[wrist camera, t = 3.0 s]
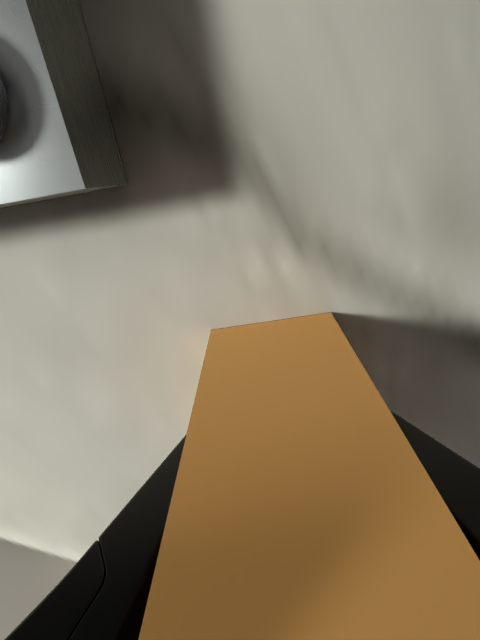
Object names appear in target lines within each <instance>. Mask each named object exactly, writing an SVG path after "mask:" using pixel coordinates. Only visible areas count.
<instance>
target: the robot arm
mask: <svg viewBox="0 0 480 640" xmlns="http://www.w3.org/2000/svg"><path fill="white" fill-rule="evenodd" d="M390 412H391V413H392V415H393V417H394V418H395V420H396V422H397V423H398V425H399V427H400V428H401V430H402V432H403V433H404V435H405V437H406V438H407V440H408V442H409V444H410V445H411V447H412V449H413V450H414V452H415V454H416V455H417V457H418V459H419V460H420V462H421V464H422V465H423V467H424V469H425V470H426V472H427V474H428V475H429V477H430V479H431V480H432V482H433V484H434V485H435V487H436V489H437V490H438V492H439V494H440V495H441V497H442V499H443V500H444V502H445V504H446V505H447V507H448V509H449V510H450V512H451V514H452V515H453V517H454V519H455V520H456V522H457V524H458V525H459V527H460V529H461V530H462V532H463V534H464V535H465V537H466V539H467V540H468V542H469V544H470V545H471V547H472V549H473V550H474V552H475V554H476V555H477V557H478V559H479V560H480V469H479V468H478V467H476V466H475V465H473V464H472V463H470V462H469V461H467V460H466V459H464V458H462V457H461V456H459V455H458V454H456V453H455V452H453V451H452V450H450V449H449V448H447V447H446V446H444V445H442V444H441V443H439V442H438V441H436V440H435V439H433V438H432V437H430V436H429V435H427V434H425V433H424V432H422V431H421V430H419V429H418V428H416V427H415V426H413V425H412V424H410V423H408V422H407V421H405V420H404V419H402V418H401V417H399V416H398V415H396V414H395V413H393V412H392V411H390ZM186 435H187V434H186ZM186 435H185V437H184V438H183V439H182V440H181V441H180V443H179V444H178V445H177V446H176V447H175V448H174V450H173V451H172V452H171V453H170V454H169V455H168V457H167V458H166V459H165V460H164V461H163V463H162V464H161V465H160V466H159V467H158V468H157V470H156V471H155V472H154V473H153V474H152V475H151V477H150V478H149V479H148V480H147V481H146V483H145V484H144V485H143V486H142V487H141V488H140V490H139V491H138V492H137V493H136V494H135V495H134V497H133V498H132V499H131V500H130V501H129V503H128V504H127V505H126V506H125V507H124V508H123V510H122V511H121V512H120V513H119V514H118V515H117V517H116V518H115V519H114V520H113V521H112V523H111V524H110V525H109V526H108V527H107V528H106V530H105V531H104V532H103V533H102V534H101V535H100V537H99V541H95V542H94V543H93V545H92V546H91V547H90V548H89V549H88V551H87V552H86V553H85V554H84V555H83V556H82V558H81V559H80V560H79V561H78V562H77V563H76V564H75V566H74V567H73V568H72V569H71V570H70V571H69V572H68V574H67V575H66V576H65V577H64V578H63V579H62V580H61V581H60V582H59V584H58V585H57V586H56V587H55V588H54V589H53V590H52V591H51V592H50V593H49V594H48V595H47V596H46V597H45V598H44V600H42V601H41V603H40V604H39V605H38V606H37V607H36V608H35V609H34V610H33V611H32V612H31V613H30V614H29V615H28V616H27V617H26V618H25V619H24V620H23V621H22V622H21V623H20V624H19V625H18V626H17V627H16V628H15V630H14V631H12V633H11V634H10V635H9V636H8V637H7V638H6V639H5V640H138V639H139V635H140V631H141V626H142V622H143V618H144V613H145V609H146V605H147V601H148V596H149V592H150V588H151V584H152V579H153V575H154V571H155V567H156V562H157V558H158V554H159V550H160V545H161V541H162V537H163V533H164V528H165V524H166V520H167V516H168V511H169V507H170V503H171V499H172V494H173V490H174V486H175V482H176V477H177V473H178V469H179V464H180V460H181V456H182V452H183V447H184V443H185V439H186Z"/></svg>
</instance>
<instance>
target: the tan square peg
mask: <svg viewBox="0 0 480 640" xmlns="http://www.w3.org/2000/svg"><path fill="white" fill-rule="evenodd" d="M138 640H480V560H479V559H478V557H477V555H476V554H475V552H474V550H473V549H472V547H471V545H470V544H469V542H468V540H467V539H466V537H465V535H464V534H463V532H462V530H461V529H460V527H459V525H458V524H457V522H456V520H455V519H454V517H453V515H452V514H451V512H450V510H449V509H448V507H447V505H446V504H445V502H444V500H443V499H442V497H441V495H440V494H439V492H438V490H437V489H436V487H435V485H434V484H433V482H432V480H431V479H430V477H429V475H428V474H427V472H426V470H425V469H424V467H423V465H422V464H421V462H420V460H419V459H418V457H417V455H416V454H415V452H414V450H413V449H412V447H411V445H410V444H409V442H408V440H407V438H406V437H405V435H404V433H403V432H402V430H401V428H400V427H399V425H398V423H397V422H396V420H395V418H394V417H393V415H392V413H391V412H390V410H389V408H388V407H387V405H386V403H385V402H384V400H383V398H382V397H381V395H380V393H379V392H378V390H377V388H376V387H375V385H374V383H373V382H372V380H371V378H370V377H369V375H368V373H367V372H366V370H365V368H364V367H363V365H362V363H361V362H360V360H359V358H358V357H357V355H356V353H355V352H354V350H353V348H352V347H351V345H350V343H349V342H348V340H347V338H346V337H345V335H344V333H343V332H342V330H341V328H340V327H339V325H338V323H337V322H336V320H335V318H334V317H333V315H332V313H331V312H330V313H323V314H317V315H310V316H303V317H296V318H289V319H283V320H276V321H269V322H262V323H255V324H249V325H242V326H235V327H228V328H221V329H215V330H211V332H210V337H209V341H208V345H207V350H206V354H205V358H204V362H203V367H202V371H201V375H200V379H199V384H198V388H197V392H196V396H195V401H194V405H193V409H192V413H191V418H190V422H189V426H188V430H187V435H186V439H185V443H184V447H183V452H182V456H181V460H180V464H179V469H178V473H177V477H176V482H175V486H174V490H173V494H172V499H171V503H170V507H169V511H168V516H167V520H166V524H165V528H164V533H163V537H162V541H161V545H160V550H159V554H158V558H157V562H156V567H155V571H154V575H153V579H152V584H151V588H150V592H149V596H148V601H147V605H146V609H145V613H144V618H143V622H142V626H141V631H140V635H139V639H138Z"/></svg>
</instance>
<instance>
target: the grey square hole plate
mask: <svg viewBox="0 0 480 640" xmlns="http://www.w3.org/2000/svg"><path fill="white" fill-rule="evenodd" d="M123 185H128V182H127V178H126V174H125V171H124V167H123V163H122V160H121V156H120V152H119V149H118V145H117V141H116V138H115V134H114V130H113V127H112V123H111V119H110V116H109V112H108V108H107V105H106V101H105V97H104V94H103V90H102V86H101V83H100V79H99V75H98V72H97V68H96V64H95V61H94V57H93V53H92V50H91V46H90V42H89V39H88V35H87V31H86V27H85V24H84V20H83V16H82V13H81V9H80V5H79V2H78V0H0V208H4V207H10V206H15V205H21V204H26V203H31V202H37V201H42V200H48V199H53V198H58V197H64V196H69V195H74V194H80V193H85V192H91V191H96V190H101V189H107V188H112V187H118V186H123Z"/></svg>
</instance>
